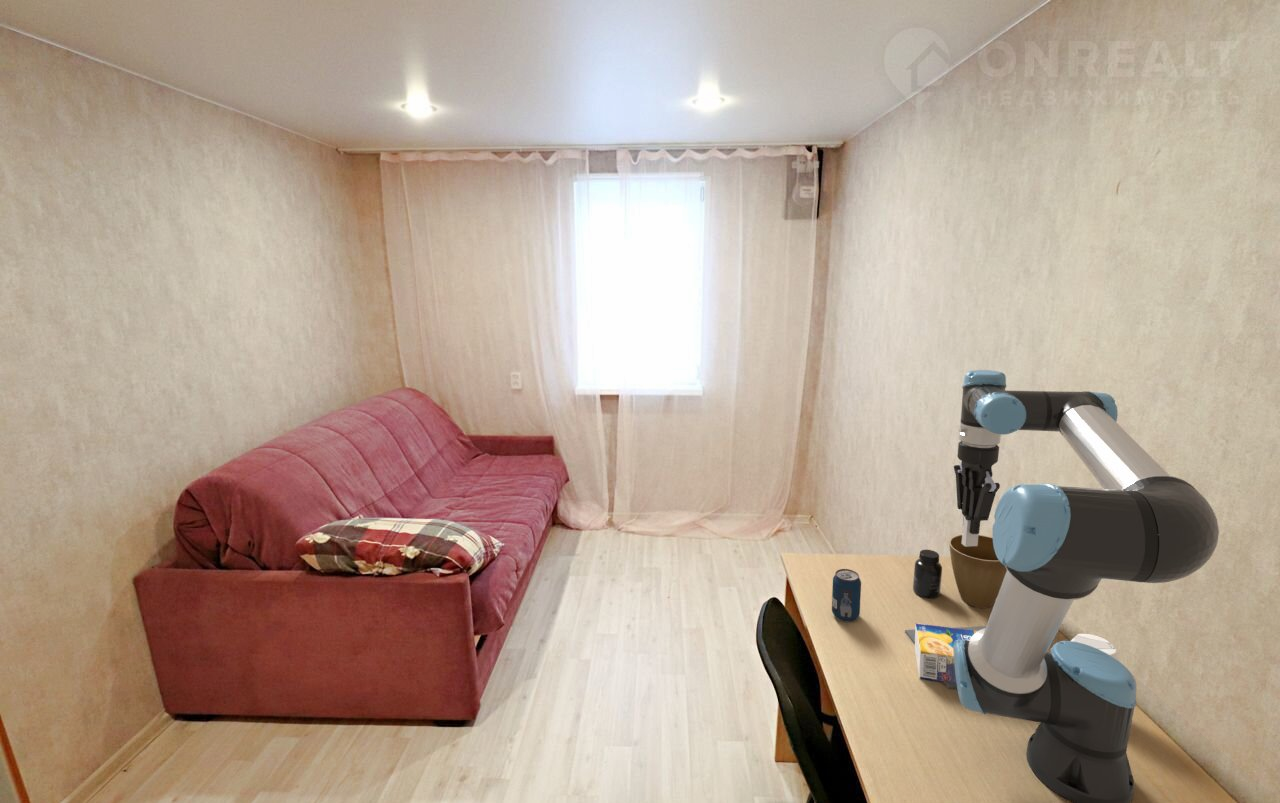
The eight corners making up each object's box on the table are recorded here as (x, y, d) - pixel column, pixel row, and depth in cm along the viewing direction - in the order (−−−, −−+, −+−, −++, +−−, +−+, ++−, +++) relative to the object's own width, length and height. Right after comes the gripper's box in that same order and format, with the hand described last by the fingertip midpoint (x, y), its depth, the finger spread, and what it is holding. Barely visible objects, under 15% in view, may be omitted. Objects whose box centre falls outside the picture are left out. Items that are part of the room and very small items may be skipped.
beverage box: (914, 648, 137) (1022, 663, 129) (919, 679, 127) (1036, 697, 119) (915, 623, 135) (1024, 636, 128) (920, 651, 125) (1038, 668, 118)
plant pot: (941, 582, 164) (945, 531, 161) (1000, 590, 159) (1006, 537, 156) (949, 611, 150) (954, 556, 147) (1015, 620, 145) (1021, 563, 142)
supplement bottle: (907, 589, 161) (909, 550, 159) (924, 583, 164) (927, 545, 161) (928, 601, 155) (931, 561, 152) (945, 595, 158) (949, 555, 155)
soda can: (849, 606, 154) (851, 566, 152) (865, 621, 148) (867, 579, 145) (826, 610, 153) (827, 569, 151) (840, 625, 146) (842, 583, 144)
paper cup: (1098, 693, 120) (1107, 634, 117) (1117, 720, 113) (1127, 658, 110) (1055, 687, 122) (1063, 629, 119) (1071, 714, 115) (1080, 653, 112)
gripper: (944, 435, 128) (937, 532, 133) (979, 453, 115) (969, 559, 121) (977, 433, 128) (969, 531, 133) (1016, 451, 115) (1005, 558, 121)
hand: (969, 544), depth 127 cm, fingers closed
